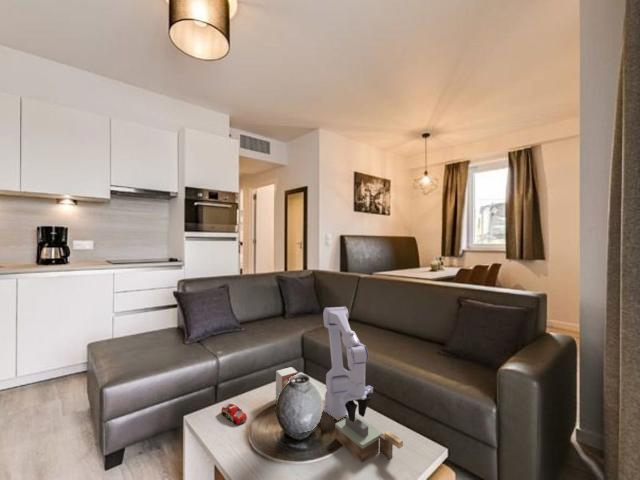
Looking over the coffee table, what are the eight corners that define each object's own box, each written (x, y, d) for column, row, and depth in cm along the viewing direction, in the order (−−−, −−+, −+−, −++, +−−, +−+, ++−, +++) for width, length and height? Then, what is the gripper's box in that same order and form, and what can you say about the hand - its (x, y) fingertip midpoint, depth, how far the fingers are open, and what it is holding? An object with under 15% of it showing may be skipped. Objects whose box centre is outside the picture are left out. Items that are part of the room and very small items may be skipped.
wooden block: (384, 438, 103) (384, 432, 103) (388, 436, 104) (388, 430, 104) (399, 448, 98) (399, 442, 98) (402, 446, 99) (402, 440, 99)
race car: (249, 421, 121) (249, 411, 121) (237, 427, 117) (237, 417, 117) (231, 408, 130) (231, 399, 130) (219, 413, 126) (219, 404, 126)
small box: (281, 405, 132) (281, 376, 132) (275, 398, 137) (275, 370, 137) (297, 400, 136) (298, 371, 136) (291, 393, 142) (291, 366, 141)
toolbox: (335, 438, 111) (335, 423, 111) (354, 428, 117) (355, 413, 117) (371, 470, 97) (372, 452, 96) (392, 456, 103) (392, 440, 102)
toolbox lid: (335, 429, 111) (335, 415, 111) (355, 419, 117) (355, 406, 117) (362, 451, 100) (362, 436, 100) (382, 439, 106) (383, 424, 106)
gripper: (349, 391, 100) (349, 431, 100) (379, 378, 108) (379, 415, 109) (335, 382, 105) (335, 421, 106) (365, 371, 114) (364, 406, 114)
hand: (356, 417), depth 108 cm, fingers open, 4 cm apart
